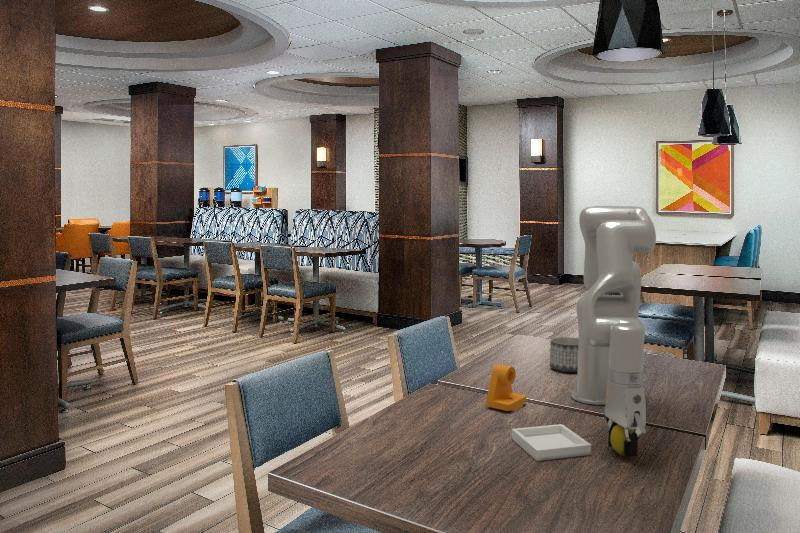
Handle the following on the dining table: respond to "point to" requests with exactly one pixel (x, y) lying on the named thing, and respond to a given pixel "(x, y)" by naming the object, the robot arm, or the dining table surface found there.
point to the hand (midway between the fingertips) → (622, 450)
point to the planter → (564, 354)
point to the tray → (550, 442)
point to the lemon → (618, 438)
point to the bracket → (504, 390)
